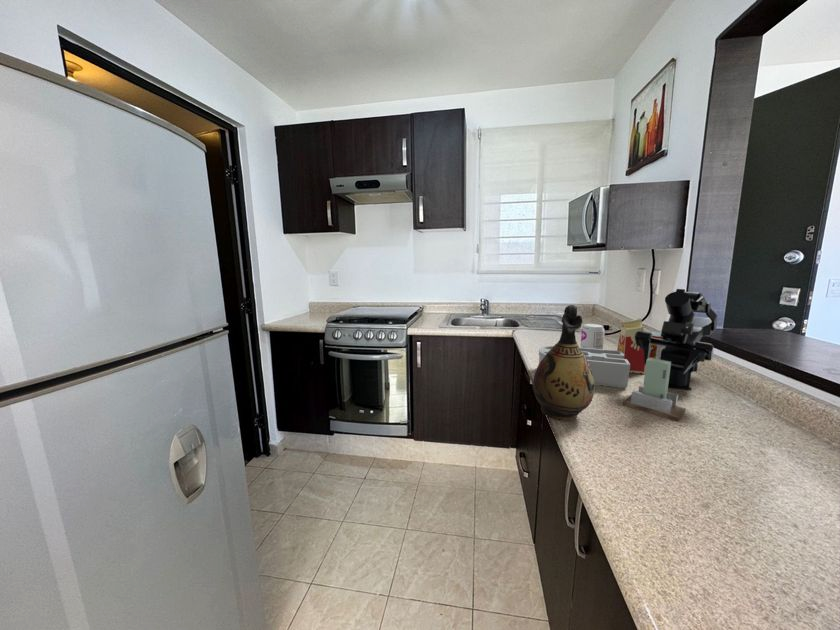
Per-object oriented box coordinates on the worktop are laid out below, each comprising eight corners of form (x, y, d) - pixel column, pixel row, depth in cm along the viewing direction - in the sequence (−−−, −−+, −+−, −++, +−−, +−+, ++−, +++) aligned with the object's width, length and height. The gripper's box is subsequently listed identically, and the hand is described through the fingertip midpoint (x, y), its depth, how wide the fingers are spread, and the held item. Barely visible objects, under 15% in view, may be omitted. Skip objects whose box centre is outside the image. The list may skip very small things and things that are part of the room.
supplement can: (580, 362, 131) (583, 326, 129) (578, 356, 139) (581, 322, 136) (603, 364, 128) (606, 328, 126) (600, 358, 136) (603, 324, 133)
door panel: (644, 400, 94) (649, 357, 92) (665, 406, 90) (671, 361, 88) (641, 403, 92) (646, 360, 90) (662, 409, 88) (668, 364, 86)
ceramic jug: (596, 431, 80) (607, 312, 75) (530, 421, 85) (536, 309, 80) (587, 402, 96) (595, 302, 90) (532, 395, 101) (537, 300, 96)
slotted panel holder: (622, 404, 94) (623, 390, 93) (631, 396, 99) (633, 383, 98) (677, 421, 84) (680, 405, 83) (685, 411, 89) (687, 396, 88)
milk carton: (638, 366, 126) (644, 316, 123) (646, 374, 118) (652, 320, 114) (612, 364, 129) (617, 315, 126) (618, 371, 120) (623, 319, 117)
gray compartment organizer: (627, 390, 104) (630, 364, 103) (536, 378, 115) (537, 355, 114) (619, 373, 119) (621, 351, 118) (539, 364, 130) (540, 344, 129)
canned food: (647, 358, 135) (650, 330, 133) (668, 364, 128) (672, 334, 126) (635, 361, 132) (638, 332, 130) (656, 367, 125) (660, 337, 123)
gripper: (641, 305, 102) (624, 347, 97) (720, 316, 88) (705, 365, 84) (644, 324, 109) (629, 364, 104) (718, 337, 95) (704, 383, 91)
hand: (663, 368), depth 96 cm, fingers open, 9 cm apart
